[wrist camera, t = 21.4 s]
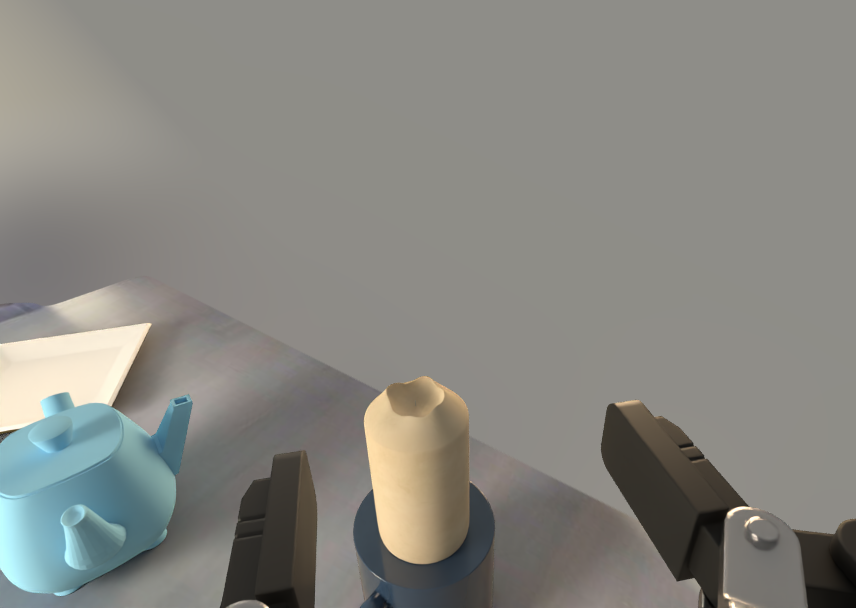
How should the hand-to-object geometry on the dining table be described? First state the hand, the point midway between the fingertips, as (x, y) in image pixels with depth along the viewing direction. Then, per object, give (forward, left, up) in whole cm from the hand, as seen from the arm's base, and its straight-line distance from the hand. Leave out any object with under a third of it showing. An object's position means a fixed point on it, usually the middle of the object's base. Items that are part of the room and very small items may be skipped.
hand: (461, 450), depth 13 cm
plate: (+19, -55, -25) cm, 63 cm away
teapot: (+14, -29, -25) cm, 41 cm away
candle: (-4, -10, -17) cm, 20 cm away
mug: (-4, -10, -25) cm, 27 cm away
